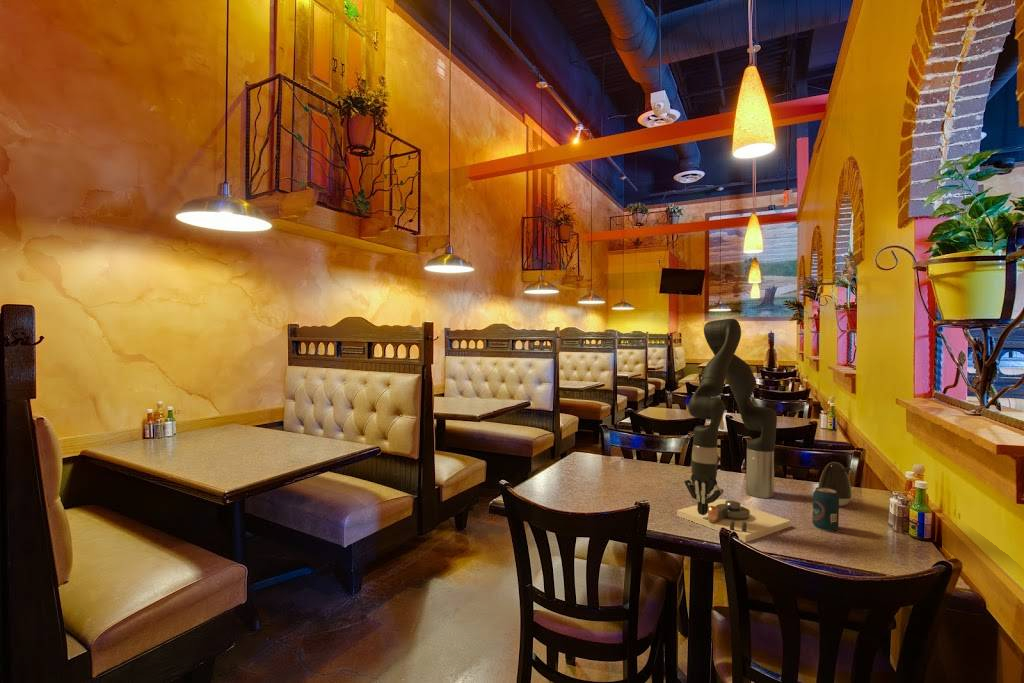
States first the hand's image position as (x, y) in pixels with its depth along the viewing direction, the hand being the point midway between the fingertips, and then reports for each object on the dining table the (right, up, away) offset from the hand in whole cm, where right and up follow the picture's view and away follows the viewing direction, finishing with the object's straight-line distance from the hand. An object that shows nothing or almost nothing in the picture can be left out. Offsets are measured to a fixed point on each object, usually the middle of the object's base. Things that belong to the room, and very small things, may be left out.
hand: (702, 514), depth 155 cm
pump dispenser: (+56, -4, +22) cm, 61 cm away
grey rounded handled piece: (+8, -1, +1) cm, 8 cm away
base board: (+11, -3, +3) cm, 12 cm away
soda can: (+38, -4, -1) cm, 38 cm away
